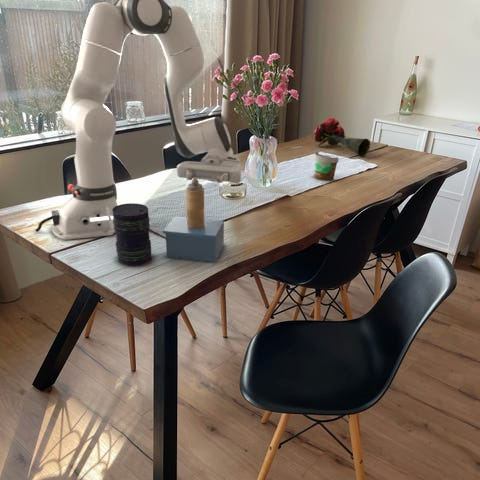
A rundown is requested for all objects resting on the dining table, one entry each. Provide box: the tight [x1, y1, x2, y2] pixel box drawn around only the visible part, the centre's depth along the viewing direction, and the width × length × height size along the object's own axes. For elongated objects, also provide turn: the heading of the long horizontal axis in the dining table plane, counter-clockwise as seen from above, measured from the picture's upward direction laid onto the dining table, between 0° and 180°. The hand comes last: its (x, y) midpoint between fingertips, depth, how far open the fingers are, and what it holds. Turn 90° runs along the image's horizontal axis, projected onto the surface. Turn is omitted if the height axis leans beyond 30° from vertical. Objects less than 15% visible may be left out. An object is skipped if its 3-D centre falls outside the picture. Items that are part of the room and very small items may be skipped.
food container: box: [313, 151, 339, 181], centre depth 213 cm, size 12×6×10 cm, turn 42°
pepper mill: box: [185, 179, 205, 229], centre depth 139 cm, size 5×5×14 cm
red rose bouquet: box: [314, 117, 371, 158], centre depth 262 cm, size 16×18×35 cm
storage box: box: [165, 223, 225, 263], centre depth 145 cm, size 15×12×7 cm
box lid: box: [162, 216, 225, 238], centre depth 143 cm, size 15×12×1 cm
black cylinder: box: [112, 202, 153, 267], centre depth 137 cm, size 10×10×15 cm
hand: (204, 178), depth 146 cm, fingers open, 8 cm apart
